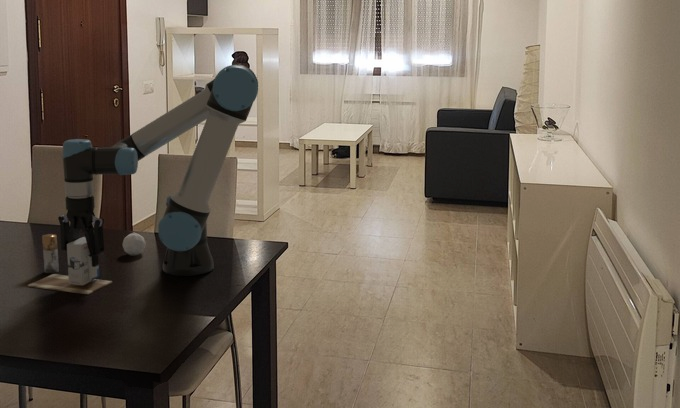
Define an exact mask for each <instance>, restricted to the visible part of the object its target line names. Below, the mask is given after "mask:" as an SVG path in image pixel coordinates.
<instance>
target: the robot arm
mask: <svg viewBox="0 0 680 408" xmlns="http://www.w3.org/2000/svg"><path fill="white" fill-rule="evenodd" d="M258 93H259V81H258V77H257V75H256V74H255V72H254V71H253V70H252V69H251V68H250V67H248V66H245V65H243V64H230V65H227V66H225V67H223V68H222V69H221V70H220V71H219V72H217V74H216V75H215V76H214V79H212V80H211V81H209V82H208V83H206V84H205V87H204V89H203V90H201V91H200V92H198V93H196V94H195V95H194V96H192V97H190V98H189V99H186V100H185V101H183V102H182V103H181V104H178V105H177V106H175V107H174V108H172V109H170V110H169V111H167V112H165V113H164V114H162V115H161V116H159V117H157V118H156V119H154V120H152V121H150V123H148V124H146V125H145V126H142V127H141V128H140V129H138V130H136V131H135V132H132V134H130V135H128V136H126V137H124V138H123V139H121V140H119V141H117V142H115V144H113V145H112V146H110V147H109V146H107V147H104V146H103V147H95V146H93V144H92V142H91V140H90V139H86V138H85V139H83V138H75V139H68V140H65V141H64V142H63V143H62V165H63V176H64V181H63V183H64V194H65V196H66V197H65V209H66V211H67V212H66V214H62V215H59V216H58V217H57V219H58V223H59V227H60V228H59V230H60V231H59V232H60V249H61V250H62V251H65V252H67V244H68V243H71V242H73V241H75V240H77V239H79V234H80V230H81V232H82V233H83V235H84V237H85V238H86V241H87V245H88V248H89V252H90V255H89V256H88V270H89V278H90V279H92V278H94V277H96V276H97V266H98V264H99V265H100V263H99V255H100V254H103V253H105V240H104V224H105V219H104V218H103V217H101V218H98V217H96V214H95V212H94V211H95V196H94V192H95V191H94V175H103V176H104V175H110V176H111V175H112V176H113V175H114V176H115V175H116V176H117V175H119V176H127V175H135V174H136V173H137V171H138V168H139V167H138V166H139V161H141V160H142V159H144V158H145V157H147V156H149V155H150V154H152V153H154V152H155V151H156V150H158V149H160V148H162V147H163V146H166V144H169V143H170V142H171V141H173V140H175V139H177V138H178V137H180V136H182V135H183V134H185V133H186V132H188V131H190V130H191V129H193V128H195V127H196V126H197V125H200V124H202V123H203V122H204V121H205V123H204V125H203V128H202V131H201V133H200V136H199V138H198V141H197V144H196V146H195V148H194V151H193V154H192V157H191V158H190V162H189V164H188V167H187V169H186V172H185V174H184V177H183V179H182V183H181V185H180V187H179V190H178V192H175V193H174V194H172V195H168V196H167V197H166V201H165V207H166V209H165V210H164V213H163V216H162V218H161V219H160V220H159V222H158V226H157V229H158V231H157V232H158V237H159V239H160V242H161V243H162V244H163V245H164V246H165V247H166V252H165V255H164V259H163V261H162V270H163V272H164V273H165V274H168V275H171V276H178V277H187V276H188V277H191V276H192V277H193V276H199V275H203V274H207V273H209V272H211V271H213V270H214V268H215V266H214V259H213V256H212V254H211V251H210V248H209V245H208V227H207V223H208V222H207V220H208V217H209V216H210V213H211V208H210V205H209V201H210V198H211V196H212V194H213V191H214V188H215V185H216V183H217V181H218V177H219V176H220V172H221V171H222V167H223V164H224V163H225V160H226V158H227V155H228V152H229V150H230V147H231V145H232V142H233V141H234V140H233V139H234V137H235V135H236V132H237V129H238V127H239V125H240V124H242V123H245V122H246V121H247V120H248V117H249V114H250V112H251V109H252V107H253V104H254V102H255V100H257V96H258ZM212 269H213V270H212Z"/></svg>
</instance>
